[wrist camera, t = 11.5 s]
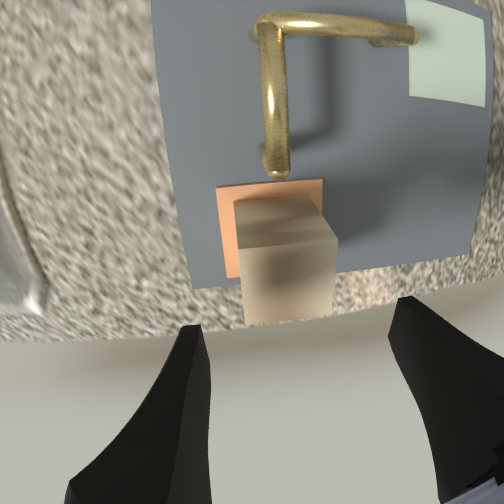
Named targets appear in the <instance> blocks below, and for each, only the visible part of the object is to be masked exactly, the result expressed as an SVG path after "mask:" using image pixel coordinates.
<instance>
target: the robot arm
mask: <svg viewBox="0 0 504 504" xmlns="http://www.w3.org/2000/svg"><path fill="white" fill-rule="evenodd" d="M388 339H389V341H390V345H391V348H392V351H393V353H394V356H395V359H396V361H397V363H398V365H399V367H400V369H401V372H402V374H403V376H404V378H405V380H406V382H407V384H408V385H409V388H410V390H411V392H412V394H413V396H414V398H415V400H416V402H417V405H418V407H419V409H420V412H421V415H422V418H423V421H424V424H425V428H426V431H427V434H428V438H429V443H430V446H431V451H432V455H433V461H434V466H435V472H436V479H437V488H438V498H439V501H440V504H504V358H503V357H501V356H499V355H497V354H496V353H494V352H492V351H490V350H489V349H487V348H485V347H483V346H482V345H480V344H479V343H477V342H475V341H474V340H473V339H471V338H470V337H468V336H467V335H465V334H464V333H462V332H461V331H459V330H458V329H457V328H455V327H454V326H452V325H451V324H450V323H448V322H447V321H446V320H444V319H443V318H442V317H440V316H439V315H438V314H436V313H435V312H434V311H433V310H431V309H430V308H429V307H427V306H426V305H424V304H423V303H422V302H420V301H419V300H418V299H416V298H415V297H413V296H407V297H402V298H398V301H397V305H396V309H395V313H394V317H393V320H392V324H391V328H390V331H389V335H388ZM210 397H211V376H210V362H209V357H208V353H207V350H206V346H205V341H204V338H203V333H202V329H201V325H187V326H182V327H181V329H180V331H179V334H178V336H177V339H176V341H175V343H174V345H173V348H172V350H171V352H170V354H169V356H168V358H167V360H166V362H165V364H164V366H163V368H162V370H161V372H160V374H159V375H158V377H157V379H156V381H155V382H154V384H153V386H152V388H151V389H150V391H149V393H148V394H147V396H146V397H145V399H144V400H143V402H142V403H141V405H140V407H139V408H138V409H137V411H136V412H135V414H134V415H133V416H132V418H131V419H130V420H129V422H128V423H127V424H126V425H125V426H124V428H123V429H122V430H121V432H120V433H119V434H118V435H117V436H116V437H115V439H114V440H113V441H112V442H111V443H110V444H109V445H108V446H107V447H106V448H105V449H104V450H103V451H102V452H101V453H100V454H99V455H98V456H97V457H96V459H94V460H93V461H92V462H91V463H90V464H89V465H88V466H86V467H85V468H84V469H83V470H82V471H80V472H79V473H78V474H77V475H76V476H75V477H73V478H72V479H71V480H70V481H69V484H68V487H67V490H66V495H65V501H64V504H212V500H211V489H210V478H209V462H208V430H209V414H210Z"/></svg>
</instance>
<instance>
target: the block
mask: <svg viewBox="0 0 504 504" xmlns="http://www.w3.org/2000/svg"><path fill="white" fill-rule="evenodd" d="M233 205H234V216H235V227H236V237H237V248H238V258H239V268H240V278H241V287H242V297H243V306H244V316H245V325H252V324H261V323H270V322H279V321H287V320H295V319H303V318H311V317H318V316H325V315H331V309H332V300H333V291H334V282H335V272H336V261H337V250H338V238H337V237H336V235H335V234H334V232H333V231H332V229H331V228H330V226H329V225H328V223H327V222H326V220H325V218H324V217H323V215H322V214H321V212H320V211H319V209H318V208H317V207H316V205H315V204H314V202H313V201H312V199H311V198H310V196H309V195H298V196H284V197H272V198H260V199H249V200H238V201H233Z"/></svg>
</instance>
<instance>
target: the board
mask: <svg viewBox="0 0 504 504" xmlns="http://www.w3.org/2000/svg"><path fill="white" fill-rule="evenodd" d="M151 12H152V25H153V37H154V48H155V58H156V68H157V77H158V86H159V94H160V102H161V110H162V118H163V125H164V132H165V139H166V146H167V153H168V159H169V166H170V172H171V178H172V184H173V190H174V196H175V201H176V207H177V213H178V218H179V223H180V229H181V234H182V239H183V244H184V249H185V254H186V259H187V264H188V269H189V274H190V278H191V283H192V288H193V289H201V288H211V287H221V286H231V285H240V284H241V278H240V268H239V258H238V248H237V237H236V227H235V216H234V205H233V201H238V200H249V199H260V198H272V197H284V196H298V195H309V196H310V198H311V199H312V201H313V202H314V204H315V205H316V207H317V208H318V209H319V211H320V212H321V214H322V215H323V217H324V218H325V220H326V222H327V223H328V225H329V226H330V228H331V229H332V231H333V232H334V234H335V235H336V237H337V238H338V250H337V261H336V272H335V273H342V272H350V271H357V270H365V269H372V268H379V267H386V266H394V265H401V264H407V263H414V262H421V261H428V260H434V259H441V258H447V257H454V256H460V255H466V254H468V251H469V247H470V243H471V240H472V236H473V232H474V228H475V223H476V219H477V215H478V210H479V205H480V200H481V195H482V190H483V184H484V179H485V172H486V166H487V159H488V151H489V143H490V133H491V121H492V106H493V41H492V27H491V16H490V11H489V10H487V9H485V8H482V7H480V6H478V5H475V4H473V3H470V2H468V1H465V0H151ZM265 12H312V13H328V14H340V15H350V16H359V17H367V18H374V19H380V20H386V21H392V22H398V23H403V24H408V25H411V26H414V27H415V28H416V29H417V30H418V31H419V34H420V40H419V42H418V43H417V44H416V45H413V46H398V47H385V48H374V47H373V46H371V45H370V43H369V42H368V40H367V39H358V38H347V37H333V36H312V35H284V42H285V56H286V72H287V89H288V108H289V130H290V156H291V171H290V174H289V176H288V177H287V178H285V179H283V180H274V179H272V178H271V177H270V176H269V175H268V173H267V171H266V169H265V167H264V165H263V163H262V160H261V158H260V156H259V154H258V147H259V145H260V144H261V143H262V142H264V141H265V138H264V122H263V107H262V93H261V78H260V65H259V51H258V43H255V42H253V41H252V40H251V39H250V36H249V32H250V30H251V28H252V27H253V25H254V23H255V22H256V20H257V19H258V17H259V16H260V15H261V14H263V13H265Z"/></svg>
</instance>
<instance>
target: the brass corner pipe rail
mask: <svg viewBox="0 0 504 504" xmlns="http://www.w3.org/2000/svg"><path fill="white" fill-rule="evenodd" d="M284 35H312V36H333V37H347V38H358V39H367V40H368V42H369V43H370V45H371V46H373V47H374V48H385V47H398V46H413V45H416V44H417V43H418V42H419V40H420V34H419V31H418V30H417V29H416V28H415V27H414V26H411V25H408V24H403V23H398V22H392V21H386V20H380V19H374V18H367V17H359V16H350V15H340V14H328V13H312V12H265V13H263V14H261V15H260V16H259V17H258V19H257V20H256V22H255V23H254V25H253V27H252V28H251V30H250V32H249V36H250V39H251V40H252V41H253V42H255V43H258V51H259V65H260V78H261V93H262V107H263V122H264V138H265V141H264V142H262V143H261V144H260V145H259V147H258V154H259V156H260V158H261V160H262V163H263V165H264V167H265V169H266V171H267V173H268V175H269V176H270V177H271V178H272V179H274V180H283V179H285V178H287V177H288V176H289V174H290V171H291V156H290V130H289V108H288V89H287V72H286V56H285V42H284Z"/></svg>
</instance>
